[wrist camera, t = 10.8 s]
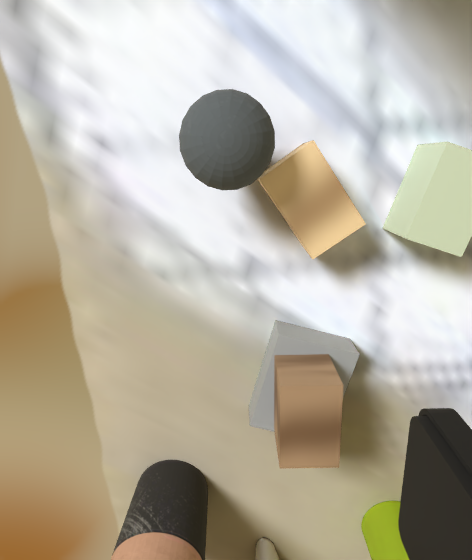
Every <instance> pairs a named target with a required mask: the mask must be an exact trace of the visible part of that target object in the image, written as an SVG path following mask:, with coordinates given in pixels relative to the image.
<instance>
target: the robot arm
mask: <svg viewBox="0 0 472 560" xmlns="http://www.w3.org/2000/svg"><path fill="white" fill-rule="evenodd" d="M398 525H399V533H400V537H401V541H402V543H403V546H404V548H405V551H406V553H407V555H408V558H409V560H472V430H471V428H470V427H469V426H468V425H467V424H466V422H465V421H464V420H463V419H462V418H461V416H460V415H459V414H458V413H457V412H456V411H455V410H454V409H451V408H438V409H422V410H421V411H420V413H419V416H414V417H412V419H411V421H410V428H409V437H408V445H407V453H406V461H405V470H404V478H403V486H402V495H401V503H400V511H399V520H398Z"/></svg>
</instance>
